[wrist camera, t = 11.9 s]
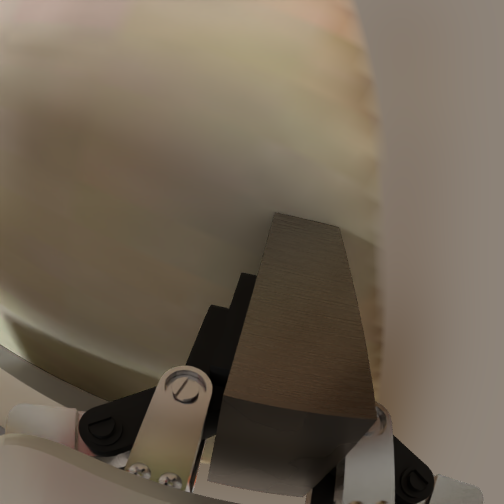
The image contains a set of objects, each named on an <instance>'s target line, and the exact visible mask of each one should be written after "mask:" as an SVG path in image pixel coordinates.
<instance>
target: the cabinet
mask: <svg viewBox="0 0 504 504" xmlns="http://www.w3.org/2000/svg"><path fill="white" fill-rule="evenodd" d="M25 403H26V404H33V405H42V406H51V407H62V408H76V409H77V411H82V412H86V411H87V410H89V409H91V408H93V407H96V406H99V405H102V404H106V403H109V402H108V401H106V400H104V399H101V398H99V397H97V396H94V395H92V394H90V393H88V392H85V391H83V390H81V389H79V388H77V387H75V386H73V385H71V384H69V383H67V382H65V381H63V380H61V379H59V378H57V377H55V376H53V375H51V374H49V373H47V372H45V371H43V370H42V369H40V368H38V367H36V366H34V365H33V364H31V363H29V362H27V361H26V360H24V359H22V358H21V357H19V356H17V355H16V354H14V353H12V352H11V351H9V350H8V349H6V348H4V347H3V346H1V345H0V436H1V435H4V434H5V428H6V422H7V417H8V414H9V411H10V410H11V409H12V408H13V407H14V406H16V405H18V404H25Z"/></svg>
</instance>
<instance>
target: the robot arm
mask: <svg viewBox="0 0 504 504" xmlns="http://www.w3.org/2000/svg"><path fill="white" fill-rule="evenodd" d="M256 279H257V276H256V275H251V274H247V273H241V276H240V279H239V282H238V285H237V288H236V290H235V293H234V296H233V299H232V302H231V305H230V308H229V309H228V308H224V307H219V306H215V305H210V307H209V309H208V312H207V314H206V316H205V319H204V321H203V324H202V326H201V328H200V331H199V333H198V336H197V338H196V341H195V343H194V346H193V348H192V350H191V353H190V355H189V358H188V360H187V363H186V365H183V366H176V367H173V368H171V369H169V370H167V371H166V372H165V373H164V374H163V375H162V377H161V378H160V380H159V383H158V385H157V386H156V387H153V388H151V389H148V390H145V391H142V392H139V393H136V394H133V395H130V396H127V397H124V398H121V399H118V400H115V401H112V402H109V403H106V404H102V405H99V406H96V407H93V408H91V409H89V410H87V411H86V412H82V411H77V409H76V408H62V407H51V406H42V405H33V404H26V403H25V404H18V405H16V406H14V407H13V408H12V409H11V410H10V411H9V414H8V417H7V422H6V428H5V434H4V435H1V436H0V504H238V503H233V502H228V501H223V500H219V499H214V498H210V497H206V496H202V495H198V494H194V493H193V490H194V486H195V483H196V479H197V475H198V471H199V467H200V463H201V460H202V456H203V452H204V448H205V444H206V440H207V438H209V437H211V436H213V435H215V434H216V432H217V426H218V421H219V415H220V410H221V405H222V399H223V394H224V391H225V388H226V384H227V381H228V377H229V374H230V370H231V367H232V363H233V360H234V356H235V353H236V349H237V346H238V342H239V339H240V335H241V332H242V328H243V325H244V321H245V318H246V314H247V311H248V307H249V304H250V300H251V297H252V293H253V289H254V286H255V282H256ZM375 405H376V413H377V421H376V422H375V423H374V424H373V426H372V427H371V428H370V429H369V430H368V432H367V433H366V434H365V435H364V436H363V437H362V438H361V440H360V441H359V442H358V443H357V444H356V445H355V446H354V447H353V448H352V449H351V451H350V452H349V453H348V454H347V455H346V456H345V457H344V458H343V459H342V460H341V461H340V462H339V463H338V464H337V465H336V466H335V467H334V468H333V469H332V470H331V471H330V472H329V473H328V474H327V475H326V476H325V477H324V478H323V479H322V480H321V481H320V482H319V483H318V484H317V485H316V486H314V487H313V488H312V489H311V490H310V491H309V492H308V493H307V494H306V501H305V504H483V494H482V492H481V490H480V489H479V488H478V487H476V486H474V485H470V484H467V483H464V482H461V481H458V480H455V479H452V478H449V477H446V476H443V475H440V474H437V475H436V476H435V475H433V474H432V472H431V470H430V469H429V467H428V466H427V465H425V464H424V463H423V462H422V461H421V460H420V459H419V458H418V457H417V456H416V455H414V454H413V453H412V452H411V451H410V450H409V449H408V448H407V447H406V446H405V445H404V444H402V443H401V442H400V441H399V440H398V439H397V438H396V437H395V436H394V435H393V431H392V430H393V429H392V420H391V416H390V414H389V412H388V411H387V410H386V409H385V407H383V406H382V405H381V404H379V403H377V402H375Z"/></svg>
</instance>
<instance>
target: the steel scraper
mask: <svg viewBox="0 0 504 504" xmlns="http://www.w3.org/2000/svg"><path fill="white" fill-rule="evenodd" d="M376 421H377V413H376V405H375V398H374V391H373V385H372V378H371V372H370V366H369V360H368V354H367V349H366V343H365V338H364V333H363V328H362V323H361V318H360V313H359V308H358V303H357V299H356V294H355V290H354V285H353V281H352V277H351V273H350V268H349V264H348V260H347V256H346V252H345V248H344V244H343V241H342V237H341V233H340V229H339V227H336V226H332V225H327V224H323V223H319V222H315V221H311V220H306V219H302V218H298V217H293V216H289V215H284V214H280V213H275V214H274V217H273V221H272V225H271V228H270V232H269V236H268V239H267V243H266V246H265V250H264V254H263V257H262V261H261V264H260V268H259V272H258V275H257V279H256V282H255V286H254V289H253V293H252V297H251V300H250V304H249V307H248V311H247V314H246V318H245V321H244V325H243V328H242V332H241V335H240V339H239V342H238V346H237V349H236V353H235V356H234V360H233V363H232V367H231V370H230V374H229V377H228V381H227V384H226V388H225V391H224V394H223V399H222V405H221V410H220V415H219V421H218V426H217V432H216V437H215V442H214V448H213V453H212V458H211V464H210V469H209V475H208V481H210V482H214V483H219V484H223V485H227V486H232V487H237V488H242V489H247V490H253V491H259V492H265V493H272V494H279V495H287V496H296V497H303V496H304V495H306V494H307V493H308V492H309V491H310V490H311V489H312V488H313V487H314V486H316V485H317V484H318V483H319V482H320V481H321V480H322V479H323V478H324V477H325V476H326V475H327V474H328V473H329V472H330V471H331V470H332V469H333V468H334V467H335V466H336V465H337V464H338V463H339V462H340V461H341V460H342V459H343V458H344V457H345V456H346V455H347V454H348V453H349V452H350V451H351V449H352V448H353V447H354V446H355V445H356V444H357V443H358V442H359V441H360V440H361V438H362V437H363V436H364V435H365V434H366V433H367V432H368V430H369V429H370V428H371V427H372V426H373V424H374V423H375V422H376Z"/></svg>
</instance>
